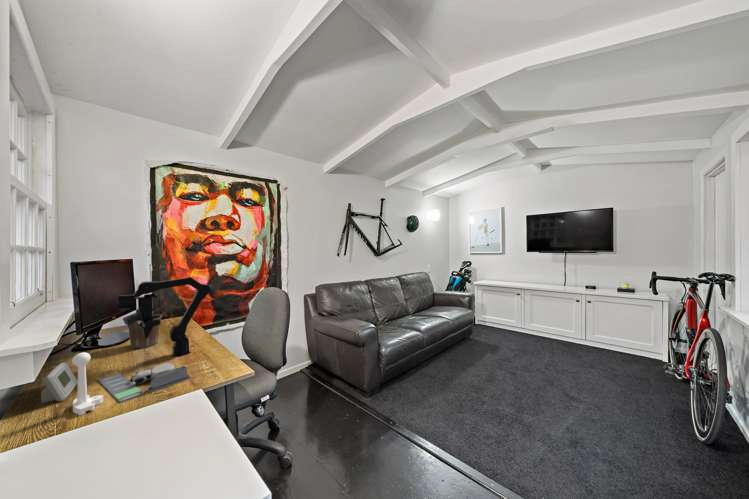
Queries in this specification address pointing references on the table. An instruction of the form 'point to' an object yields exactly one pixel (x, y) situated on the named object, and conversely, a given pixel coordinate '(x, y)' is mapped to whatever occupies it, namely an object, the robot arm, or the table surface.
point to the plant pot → (138, 337)
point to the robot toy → (150, 373)
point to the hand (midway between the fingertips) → (146, 337)
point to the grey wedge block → (168, 378)
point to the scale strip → (120, 387)
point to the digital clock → (58, 383)
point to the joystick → (84, 387)
